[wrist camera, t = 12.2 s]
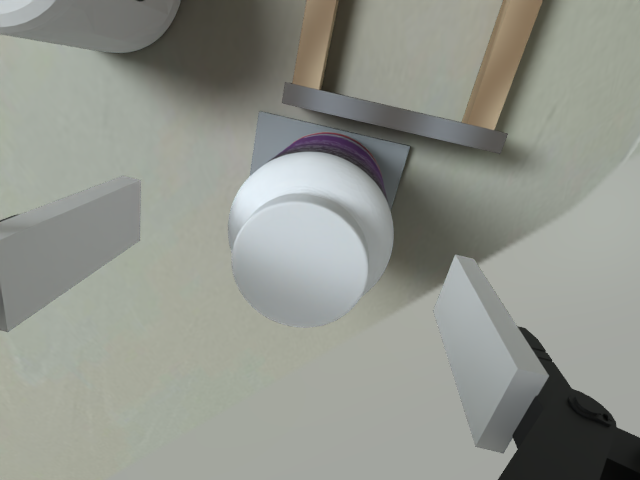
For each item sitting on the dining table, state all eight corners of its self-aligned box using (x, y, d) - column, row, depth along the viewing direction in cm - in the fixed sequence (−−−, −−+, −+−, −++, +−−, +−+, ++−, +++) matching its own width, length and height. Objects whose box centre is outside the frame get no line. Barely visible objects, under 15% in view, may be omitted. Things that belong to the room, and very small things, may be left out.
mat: (244, 218, 30) (243, 220, 30) (260, 111, 27) (259, 111, 27) (378, 250, 30) (378, 252, 30) (409, 145, 27) (410, 146, 27)
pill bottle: (276, 126, 27) (191, 156, 14) (388, 134, 26) (415, 172, 13) (274, 232, 30) (204, 342, 17) (376, 241, 29) (387, 362, 16)
